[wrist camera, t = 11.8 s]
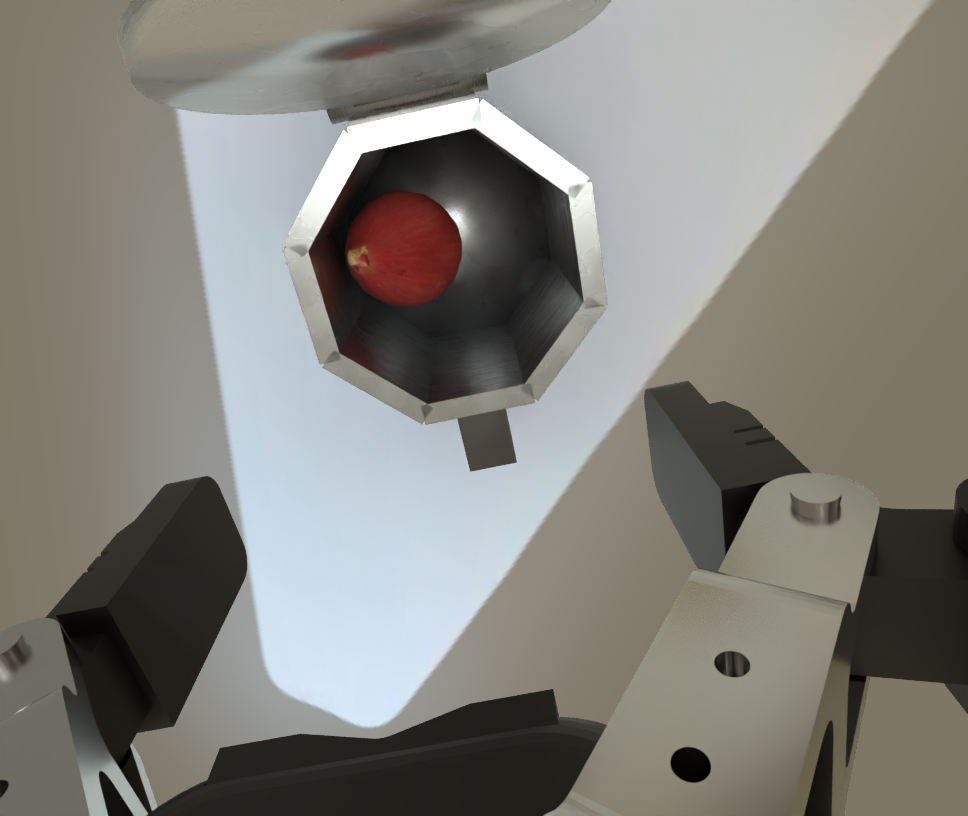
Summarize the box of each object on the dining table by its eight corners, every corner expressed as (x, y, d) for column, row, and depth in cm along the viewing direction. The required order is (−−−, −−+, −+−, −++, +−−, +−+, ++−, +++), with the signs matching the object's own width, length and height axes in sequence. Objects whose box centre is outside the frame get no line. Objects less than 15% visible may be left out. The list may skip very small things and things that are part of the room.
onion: (446, 312, 38) (354, 346, 32) (388, 235, 38) (286, 255, 32) (508, 247, 34) (419, 271, 28) (444, 163, 35) (341, 169, 28)
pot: (543, 57, 34) (580, 26, 24) (589, 373, 41) (632, 452, 31) (294, 114, 35) (227, 106, 24) (383, 415, 42) (359, 506, 32)
